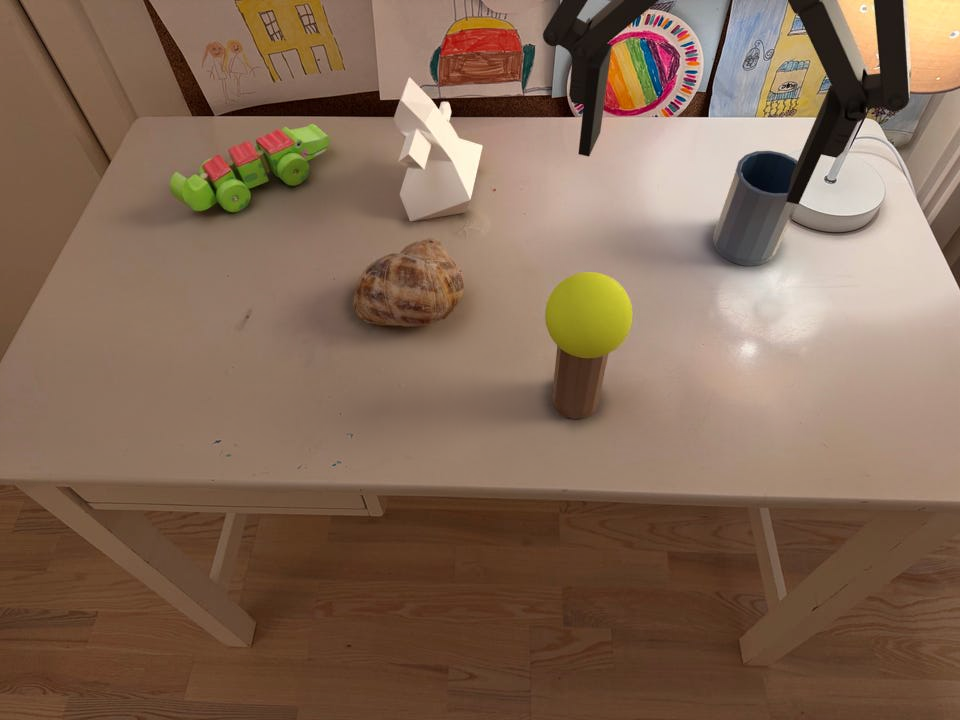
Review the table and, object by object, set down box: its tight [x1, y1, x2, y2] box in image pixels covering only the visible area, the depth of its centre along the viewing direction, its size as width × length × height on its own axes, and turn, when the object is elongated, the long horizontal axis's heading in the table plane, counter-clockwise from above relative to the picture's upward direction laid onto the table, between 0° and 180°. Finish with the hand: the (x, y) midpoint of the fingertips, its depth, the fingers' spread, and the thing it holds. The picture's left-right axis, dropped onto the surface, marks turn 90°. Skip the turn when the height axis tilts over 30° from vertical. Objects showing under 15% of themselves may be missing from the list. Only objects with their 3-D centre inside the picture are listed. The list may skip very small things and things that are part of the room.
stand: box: [551, 345, 609, 420], centre depth 63 cm, size 4×4×10 cm
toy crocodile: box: [169, 123, 331, 213], centre depth 84 cm, size 20×7×6 cm, turn 126°
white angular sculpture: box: [393, 76, 484, 222], centre depth 79 cm, size 8×14×14 cm, turn 171°
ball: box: [544, 271, 634, 358], centre depth 57 cm, size 7×7×7 cm
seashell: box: [352, 237, 465, 328], centre depth 72 cm, size 10×9×10 cm
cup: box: [712, 150, 799, 267], centre depth 74 cm, size 7×7×10 cm
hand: (688, 166), depth 46 cm, fingers open, 13 cm apart
